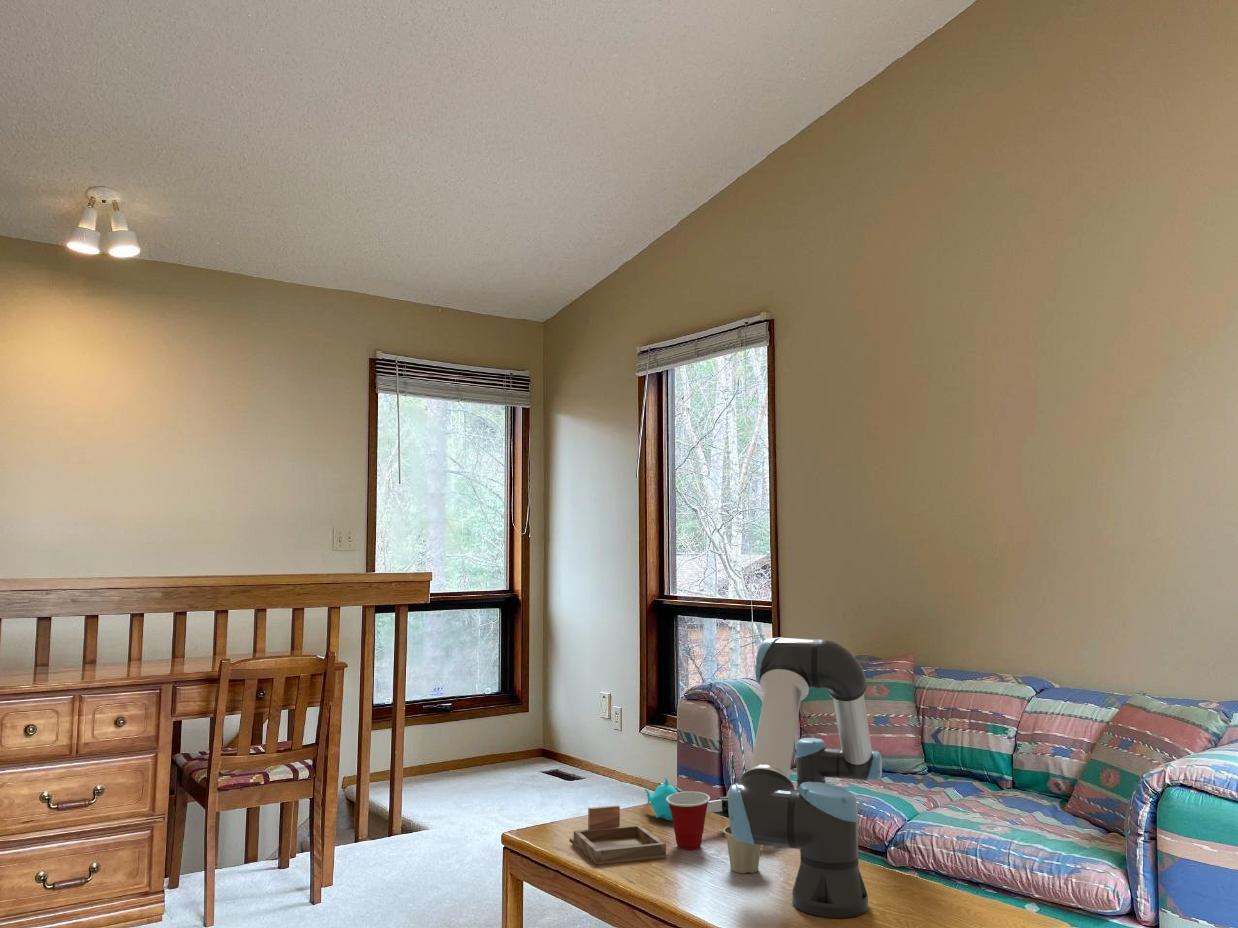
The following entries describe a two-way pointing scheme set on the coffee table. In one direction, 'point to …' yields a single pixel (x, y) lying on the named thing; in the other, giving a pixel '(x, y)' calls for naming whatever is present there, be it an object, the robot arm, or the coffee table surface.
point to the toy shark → (661, 800)
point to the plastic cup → (688, 817)
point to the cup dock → (616, 838)
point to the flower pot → (742, 854)
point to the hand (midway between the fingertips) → (715, 814)
